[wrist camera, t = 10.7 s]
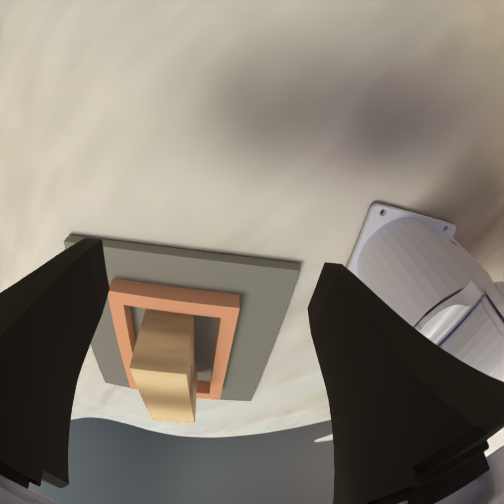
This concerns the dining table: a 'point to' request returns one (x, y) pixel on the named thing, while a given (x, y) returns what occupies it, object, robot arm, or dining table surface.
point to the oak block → (166, 365)
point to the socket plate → (194, 311)
